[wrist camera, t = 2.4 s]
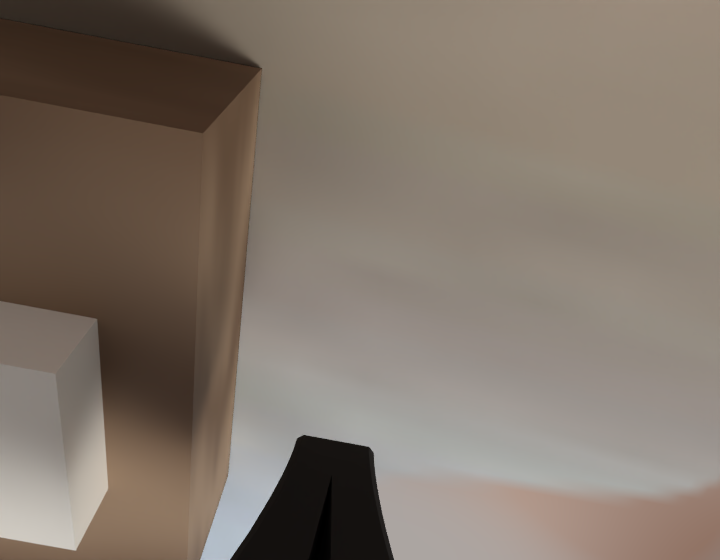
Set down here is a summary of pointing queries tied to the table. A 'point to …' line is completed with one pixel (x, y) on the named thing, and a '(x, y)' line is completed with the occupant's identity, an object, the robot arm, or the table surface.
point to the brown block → (134, 260)
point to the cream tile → (50, 426)
